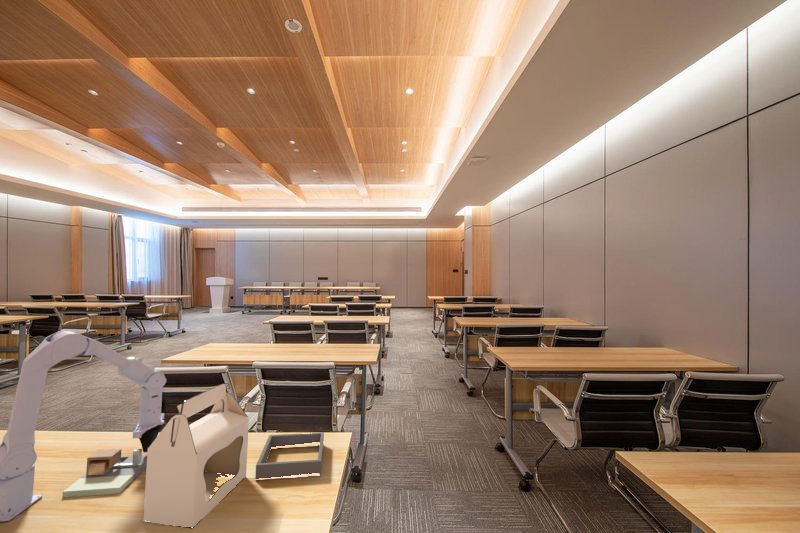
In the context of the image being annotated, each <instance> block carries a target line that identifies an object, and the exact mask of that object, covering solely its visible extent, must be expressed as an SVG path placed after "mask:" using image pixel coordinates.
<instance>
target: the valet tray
mask: <svg viewBox="0 0 800 533" xmlns="http://www.w3.org/2000/svg"><path fill="white" fill-rule="evenodd" d="M309 433H310V434H302V433H289V434H288V433H286V434H284V433H283V434H269V435H268V438H267V439H266V441H265V444H264V446H263V449H262V451H261V454H259V458H258V460H257V462H256V464H255V479H259V478H271V477H281V476H282V477H283V476H291V475H299V474H300V475H301V474H308V473H309V474H312V473H321V474H322V466H321V464H322V465H323V455H322V453H323V454H324V443H323V441H324V442H325V440H324V437H325V433H324V432H322V431H321V432H309ZM311 433H312V434H311ZM312 442H320V446H319V447H318V458H317V459H308V460H307V459H306V460H304V459H303V460H291V461H290V460H288V461H274V462H266V460H267V461H268V459H267V457H268V455H269V456H270V454H269V452H270V453H271V451H270V449H271V447H276V446H285V445H295V444H304V443H312ZM271 450H272V449H271ZM268 458H269V457H268ZM265 462H266V463H265Z"/></svg>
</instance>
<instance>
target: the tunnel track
mask: <svg viewBox="0 0 800 533" xmlns="http://www.w3.org/2000/svg"><path fill="white" fill-rule="evenodd" d="M86 458H87V459H86V470H85V471H86V473H85V474H84V475H82V476H81V477H80V478H79V479H77V480H76V481H75V482H73V483H72V484H71V485H69V486H68V487H67V488H66V489H64V490H63V491H62V498H72V497H74V498H75V497H88V496H99V495H100V496H101V494H103V495H114V494H116V495H117V494H121V492H123V491H124V490H125V489H126V488H127V487H128V486H129V485H130V484H131V483H132V482H133V480H135V479H136V478H137V477H139V475H140V474H141V473H143V471H144V470H146V469H147V454H142V460H141V462H140V463H139V464H138V465H137V466H136V467H122V468H113V469H112V470H111V471H110V472H108V473H107V474H106V475H98V476H89V475H88V466H89V464H90V463H91V462H92V461H94V460H107V459H109V468H112V467H113V466H114V465H116V464H117V463H118V462H119V461H120V460H121V462H120V463H119V464H121V463H133V454H132V455H130V454H129V455H122V448H116V449H115V448H113V449H97V450H96V451H95V452H93V453H92V454H90V455H89V456H88V457H86Z"/></svg>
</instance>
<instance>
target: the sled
mask: <svg viewBox="0 0 800 533" xmlns="http://www.w3.org/2000/svg"><path fill="white" fill-rule="evenodd" d="M132 455H133V463H121V464H119V463H120V462H121V460H120V461H119V462H118V463H117V464H116V465H114V466H113V467H112V468H109V459H107V460H94V461H92V462H91V463H90V464H89V466H88V475H89V476H98V475H106V474H107V473H108V472H110V471H111V470H112V469H113V468H122V467H136V466H137V465H138V464H139V463H140V462H141V460H142V455H143V449H142V448H138V449H137V448H135V449H134V450H133V451H132Z"/></svg>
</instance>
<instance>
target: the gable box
mask: <svg viewBox="0 0 800 533" xmlns="http://www.w3.org/2000/svg"><path fill="white" fill-rule="evenodd" d="M226 387H227V386H226V384H225V383H221V384H218V385H216V386H215V387H212V388H210V389H207V390H205V391H203V392H200V393H198V394H197V395H194V396H192V397H189V398H187V399H185V400H184V401H182V403H180V404H178V405H176V409H177V412H178V414H176V415H174V416H172V417H171V418H170V419H169V421H168V422H167V423H166V424H165V426H164V427H163V428H162V429H161V430H160V431H159V433H158V435H157V438H156V439H155V440H154V441H153V443H152V444H151V445H150V447H149V448H148V452H146V453H147V454H146V455H147V467H146V468H145V470H146V471H145V487H144V488H145V489H144V505H143V520H142V521H145V520H146V521H150V522H154V523H160V524H159V525H161V524H167V525H166V526H169V525H175V526H174V527H176V526H181V527H180V528H183V527H194V526H195V525H196V524H197V523H198V522H199V521H200V520H201V519H202V520H203V519H205V517H207V515H208V514H209V513H211V511H213V509H215V508H216V507H217V506H218V505H219V504H220V503H221V502H222V501H223V500H224V499H225V498H226V497H227V496H228V495H229V494H230V493H231V492H232V491H233V490H234V489H235V488H236V487H237V486H238V485H239V484H240V483H241V482H242V481H243V480H244V479H245V478H246V477H247V462H248V445H249V443H248V442H249V423H250V422H249V420H250V418H249V416H248V414H247V413H246V412H245V410H244V409H243V408H242V406H241V405H240V403H239V402H238V400H237V399H236V398H235V396H234V395H233V394H232V393H231V390H228V391H227V389H226ZM211 406H213V407H212V409H211V411H210V412H209V413H208V414H206V415H205V416H203V417H201V418H200V419H198V420H195V421H194V422H191V423H189V420H188V418H190V417H191V416H193V415H195V414H198V413H199V412H201V411H203V410H206V409H207V408H210V407H211ZM217 473H221V474H217ZM225 474H229V475H231V474H232V475H235V476H234V477H233V478H232V479H230V480H228V481H226V482H225V483H223V484H222V485H221V486H217V483H215V482H219V481H218V480H216V478H218V477H221V476H220V475H222V476H225V477H228V476H227V475H225ZM245 476H246V477H245ZM244 477H245V478H244ZM243 478H244V479H243ZM242 479H243V480H242ZM241 480H242V481H241ZM240 481H241V482H240ZM239 482H240V483H239ZM238 483H239V484H238ZM237 484H238V485H237ZM236 485H237V486H236ZM215 487H218V488H219V489H218V490H217V491H216V492H214V491H213V490H215V489H214V488H215ZM233 488H234V489H233ZM232 489H233V490H232ZM231 490H232V491H231ZM230 491H231V492H230ZM229 492H230V493H229ZM228 493H229V494H228ZM213 494H214V495H213ZM227 494H228V495H227ZM210 495H213V496H212V498H211V499H210V498H209V497H210ZM226 495H227V496H226ZM225 496H226V497H225ZM224 497H225V498H224ZM223 498H224V499H223ZM222 499H223V500H222ZM221 500H222V501H221ZM220 501H221V502H220ZM219 502H220V503H219ZM202 520H201V521H202ZM201 521H200V522H201ZM200 522H199V523H200ZM154 523H153V524H154ZM199 523H198V524H199ZM198 524H197V525H198ZM197 525H196V526H197ZM196 526H195V527H196ZM195 527H194V528H195Z"/></svg>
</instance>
